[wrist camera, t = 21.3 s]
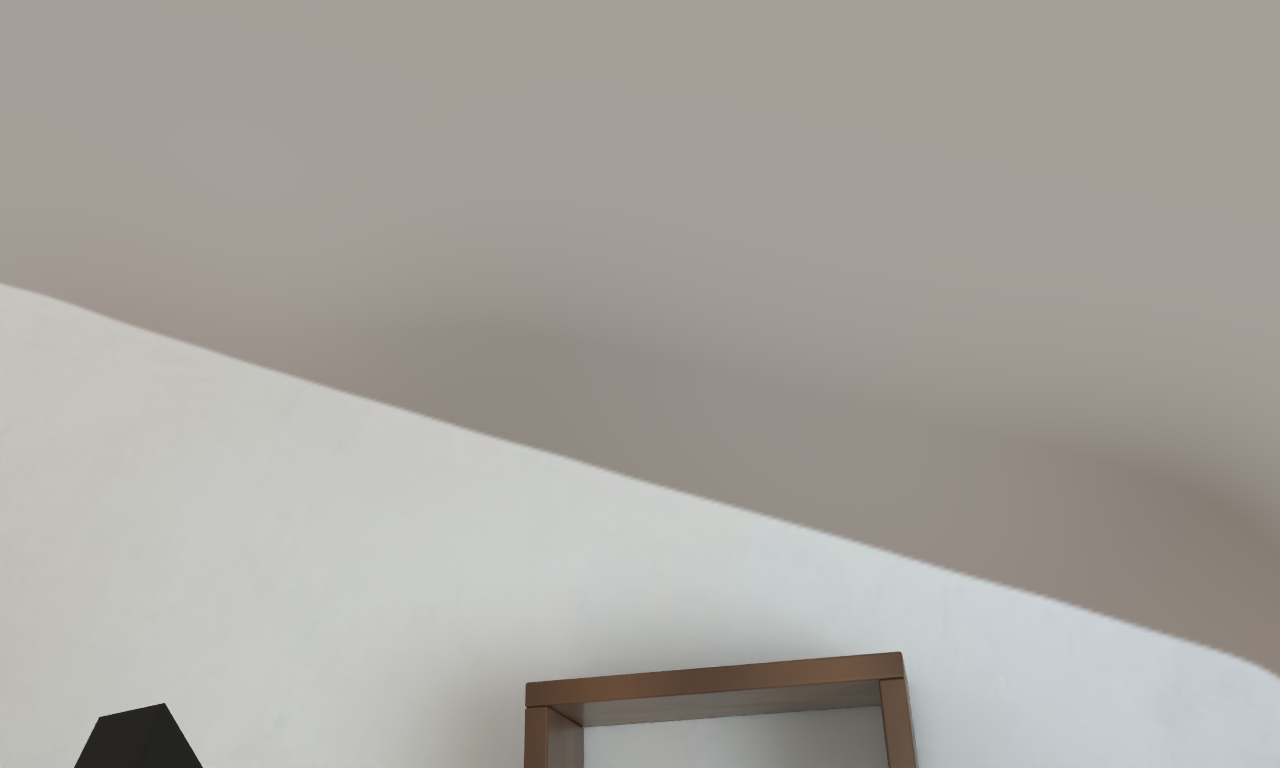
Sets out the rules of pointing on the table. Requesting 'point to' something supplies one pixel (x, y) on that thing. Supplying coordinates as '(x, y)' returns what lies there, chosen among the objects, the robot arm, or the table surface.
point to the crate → (716, 701)
